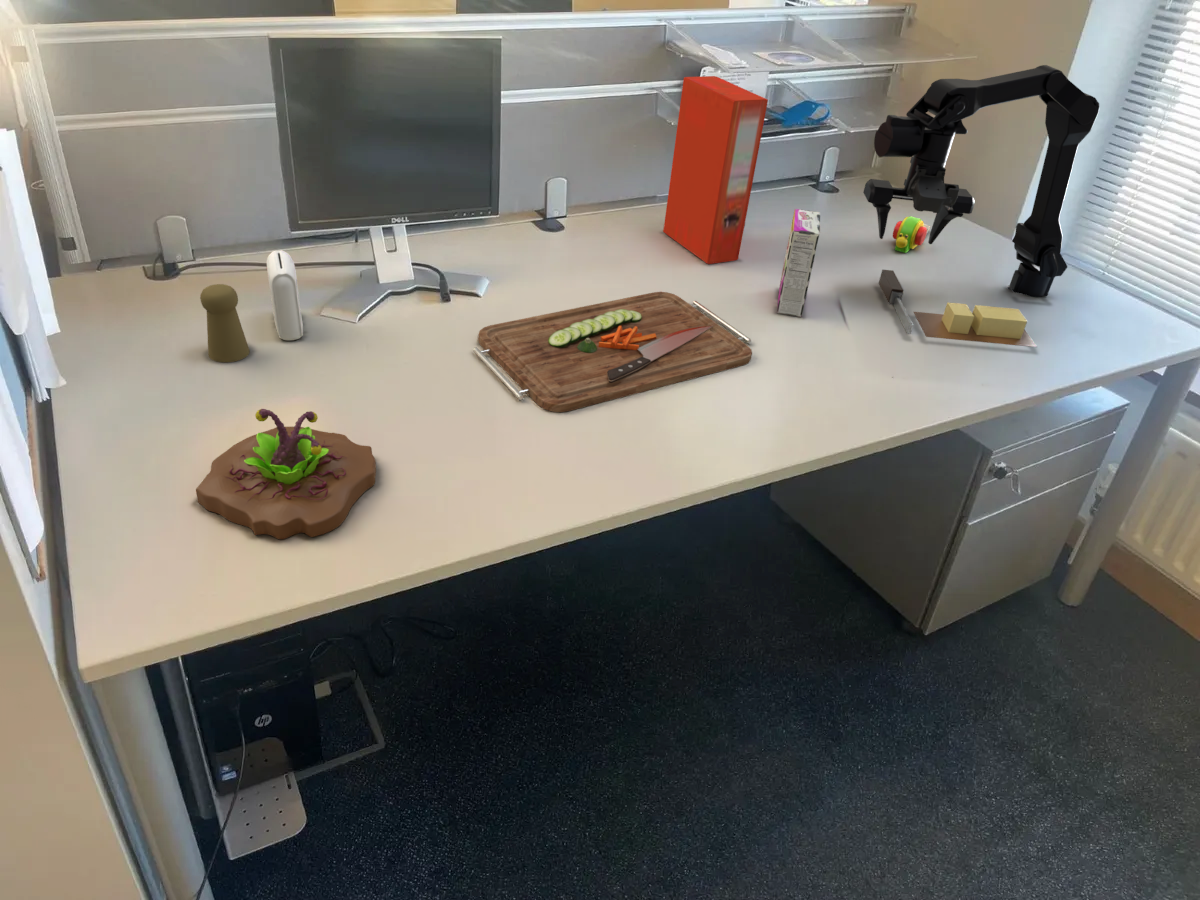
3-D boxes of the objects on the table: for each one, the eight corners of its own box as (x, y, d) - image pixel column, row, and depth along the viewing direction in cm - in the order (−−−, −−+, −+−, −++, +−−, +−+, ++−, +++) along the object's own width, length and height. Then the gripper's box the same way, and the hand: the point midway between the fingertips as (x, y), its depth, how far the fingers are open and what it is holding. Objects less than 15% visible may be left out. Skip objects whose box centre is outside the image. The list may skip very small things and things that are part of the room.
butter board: (1017, 327, 170) (1019, 321, 169) (1035, 352, 161) (1037, 347, 161) (911, 317, 170) (913, 311, 169) (924, 342, 161) (926, 336, 161)
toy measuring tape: (882, 250, 196) (890, 221, 192) (911, 226, 210) (919, 199, 206) (910, 258, 193) (919, 229, 190) (938, 234, 207) (947, 206, 203)
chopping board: (678, 293, 170) (680, 278, 168) (770, 358, 152) (773, 342, 150) (459, 338, 149) (458, 322, 148) (535, 419, 131) (536, 402, 129)
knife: (888, 289, 179) (893, 270, 177) (913, 340, 162) (919, 320, 160) (877, 287, 179) (882, 269, 177) (900, 339, 162) (906, 319, 160)
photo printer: (273, 313, 151) (262, 244, 144) (299, 311, 153) (290, 242, 146) (277, 342, 144) (266, 271, 137) (305, 340, 145) (296, 268, 138)
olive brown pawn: (257, 348, 142) (247, 284, 135) (233, 365, 137) (221, 300, 131) (225, 340, 143) (213, 276, 137) (199, 356, 138) (186, 291, 132)
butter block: (1011, 326, 167) (1018, 308, 165) (1020, 339, 163) (1027, 321, 161) (968, 322, 167) (975, 304, 165) (976, 335, 163) (983, 317, 161)
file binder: (694, 229, 198) (716, 75, 179) (739, 259, 186) (768, 98, 167) (663, 233, 194) (682, 77, 176) (706, 264, 182) (732, 100, 164)
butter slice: (960, 321, 167) (966, 304, 165) (967, 334, 163) (974, 316, 161) (941, 319, 167) (947, 302, 165) (948, 332, 163) (954, 314, 161)
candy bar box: (777, 289, 175) (794, 207, 166) (803, 293, 175) (821, 211, 165) (774, 314, 166) (792, 229, 157) (801, 318, 166) (821, 233, 156)
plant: (268, 427, 125) (257, 357, 118) (397, 460, 121) (392, 389, 114) (172, 513, 109) (152, 437, 102) (316, 553, 105) (306, 477, 98)
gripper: (886, 165, 153) (863, 252, 162) (996, 177, 153) (966, 263, 161) (874, 146, 162) (852, 229, 171) (977, 157, 162) (950, 240, 171)
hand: (905, 240), depth 168 cm, fingers open, 9 cm apart
